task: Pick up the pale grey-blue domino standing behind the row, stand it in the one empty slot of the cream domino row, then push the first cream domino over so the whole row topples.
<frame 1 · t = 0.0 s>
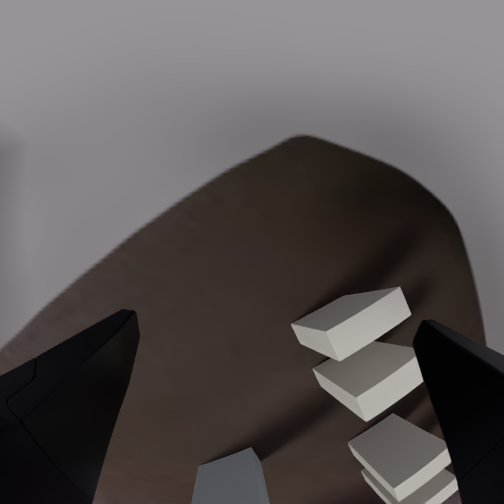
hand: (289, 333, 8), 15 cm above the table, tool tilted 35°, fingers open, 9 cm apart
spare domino: (229, 464, 20), on the table
domino 2: (373, 434, 21), on the table
domino 5: (322, 319, 23), on the table
domino 1: (385, 462, 21), on the table
domino 4: (342, 362, 23), on the table
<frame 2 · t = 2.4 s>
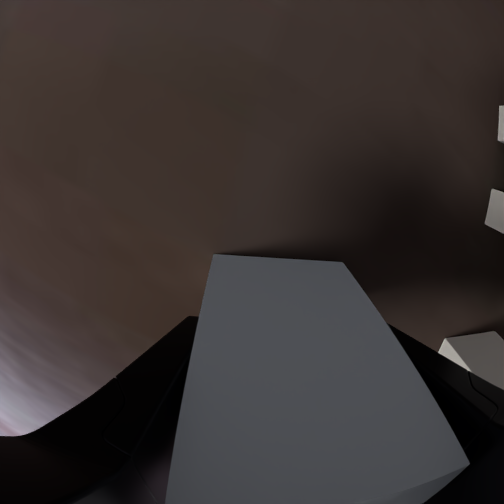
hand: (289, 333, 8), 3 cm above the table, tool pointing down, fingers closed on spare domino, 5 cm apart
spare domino: (277, 279, 11), on the table, touching gripper
domino 2: (466, 346, 14), on the table
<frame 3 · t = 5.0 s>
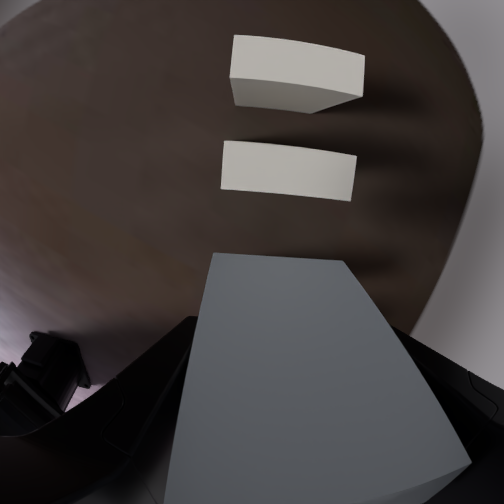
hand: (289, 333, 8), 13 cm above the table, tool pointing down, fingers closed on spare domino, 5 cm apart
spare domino: (277, 278, 11), point 10 cm above the table, touching gripper
domino 5: (274, 96, 17), on the table
domino 4: (269, 156, 19), on the table
when the fingers open (4 cm above the table, at t = 7.4 s): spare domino stays where it is, on the table.
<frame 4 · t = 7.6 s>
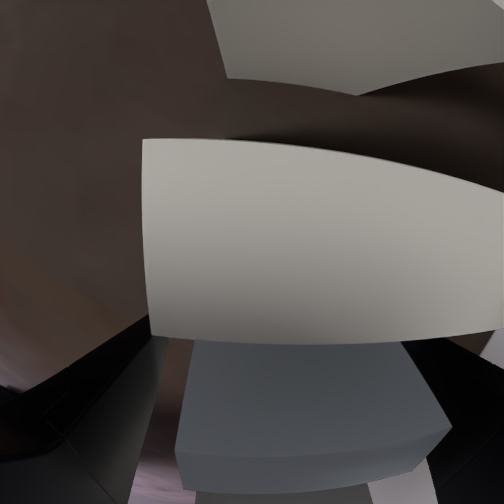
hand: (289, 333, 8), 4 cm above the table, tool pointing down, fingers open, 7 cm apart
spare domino: (275, 268, 12), on the table
domino 2: (265, 346, 14), on the table
domino 5: (296, 63, 9), on the table
domino 4: (287, 167, 11), on the table
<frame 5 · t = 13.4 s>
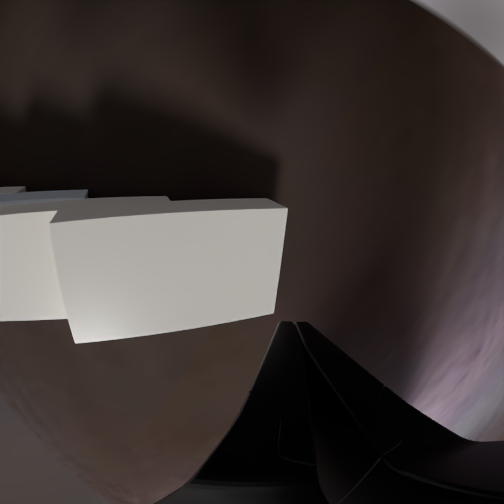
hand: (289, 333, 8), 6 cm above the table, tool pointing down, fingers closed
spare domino: (87, 243, 13), point 1 cm above the table, tilted 66°, touching domino 2, domino 4
domino 2: (168, 253, 13), point 1 cm above the table, tilted 66°, touching domino 1, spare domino
domino 1: (270, 256, 13), point 1 cm above the table, tilted 66°, touching domino 2
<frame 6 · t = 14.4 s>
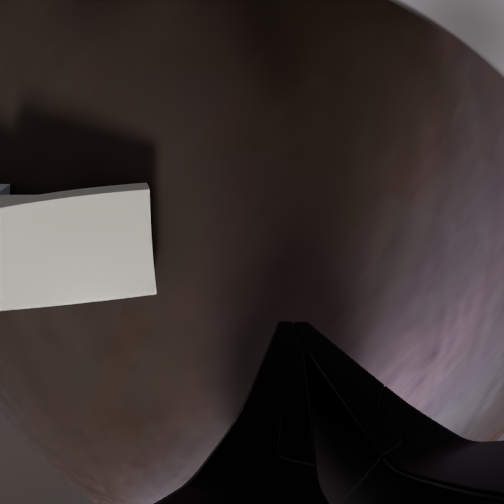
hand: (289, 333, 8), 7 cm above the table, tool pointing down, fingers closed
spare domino: (6, 228, 13), point 1 cm above the table, tilted 66°, touching domino 2, domino 4
domino 1: (150, 238, 13), point 1 cm above the table, tilted 68°, touching domino 2
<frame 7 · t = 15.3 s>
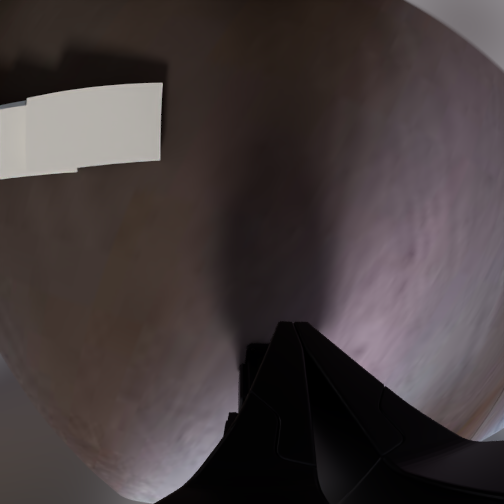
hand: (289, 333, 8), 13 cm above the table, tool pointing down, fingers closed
domino 2: (79, 136, 17), point 1 cm above the table, tilted 65°
domino 1: (159, 121, 17), point 1 cm above the table, tilted 70°
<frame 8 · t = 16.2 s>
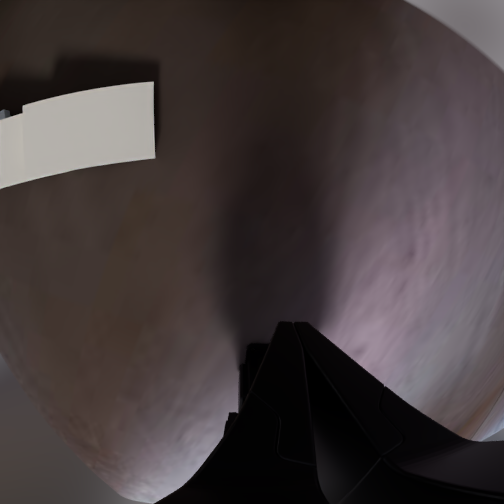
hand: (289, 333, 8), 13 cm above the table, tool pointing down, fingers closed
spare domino: (11, 138, 16), point 1 cm above the table, tilted 63°, touching domino 4
domino 2: (68, 136, 17), point 1 cm above the table, tilted 67°
domino 1: (153, 120, 17), point 1 cm above the table, tilted 72°
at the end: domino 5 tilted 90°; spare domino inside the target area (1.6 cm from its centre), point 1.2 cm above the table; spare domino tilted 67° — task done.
